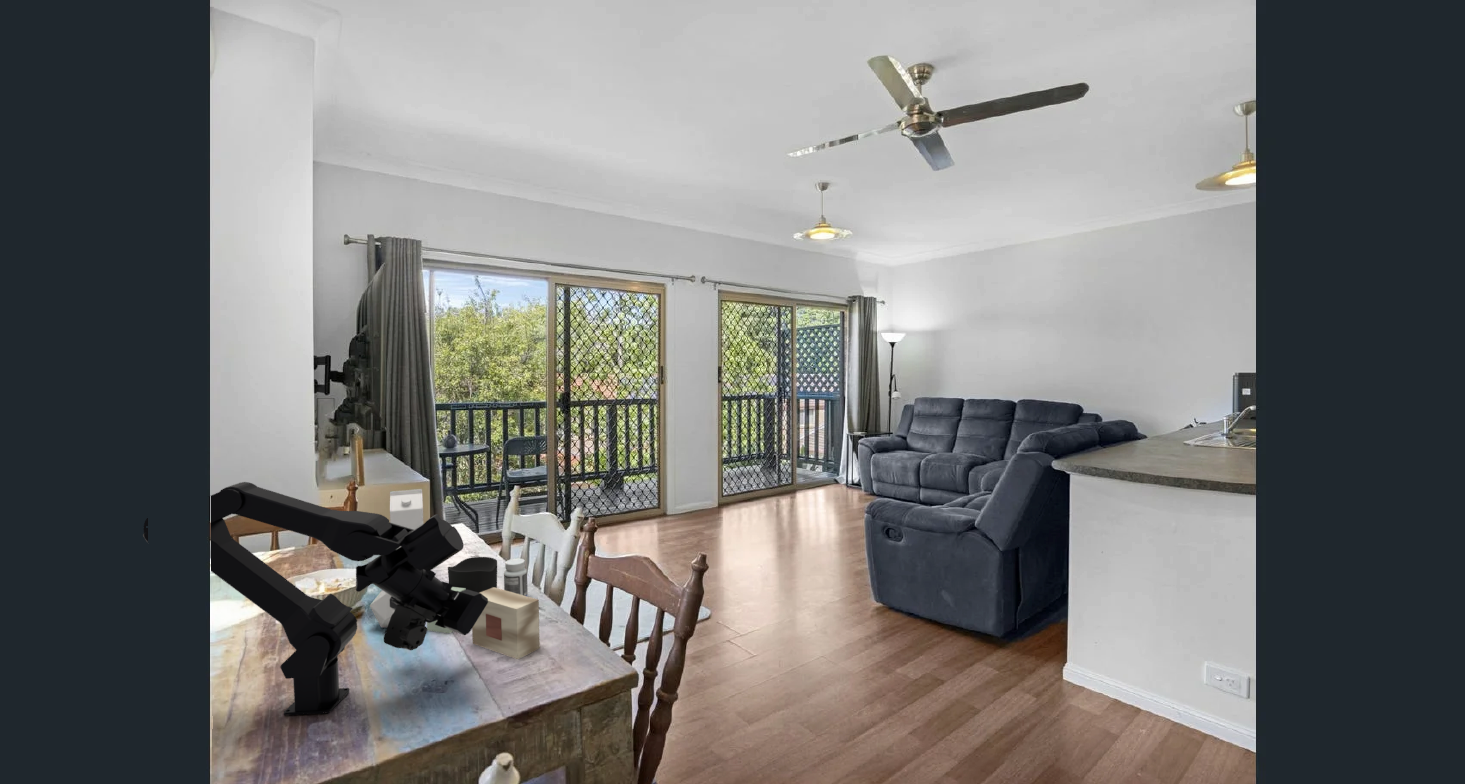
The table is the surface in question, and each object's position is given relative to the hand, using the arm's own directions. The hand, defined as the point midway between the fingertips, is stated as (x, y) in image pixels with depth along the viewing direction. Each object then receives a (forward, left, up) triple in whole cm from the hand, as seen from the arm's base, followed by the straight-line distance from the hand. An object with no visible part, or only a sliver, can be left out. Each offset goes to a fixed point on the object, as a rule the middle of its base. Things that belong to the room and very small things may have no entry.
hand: (469, 624), depth 112 cm
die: (+18, +19, -7) cm, 27 cm away
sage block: (+16, +9, -7) cm, 19 cm away
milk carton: (+54, +31, -7) cm, 62 cm away
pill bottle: (+29, -1, -7) cm, 29 cm away
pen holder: (+23, +6, -7) cm, 24 cm away
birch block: (+6, -4, -7) cm, 10 cm away
